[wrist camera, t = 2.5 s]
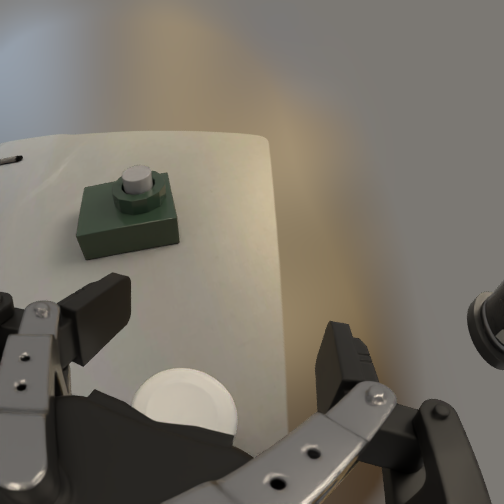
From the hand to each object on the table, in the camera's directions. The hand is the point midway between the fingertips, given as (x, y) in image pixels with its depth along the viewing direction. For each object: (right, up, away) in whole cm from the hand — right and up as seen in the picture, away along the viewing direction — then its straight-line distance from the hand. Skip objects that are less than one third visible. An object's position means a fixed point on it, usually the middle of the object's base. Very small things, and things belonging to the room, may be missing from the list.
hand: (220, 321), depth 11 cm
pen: (-57, +23, +36) cm, 71 cm away
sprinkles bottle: (-3, -13, +9) cm, 16 cm away
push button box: (-15, +6, +26) cm, 30 cm away
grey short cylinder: (-12, +10, +22) cm, 27 cm away
